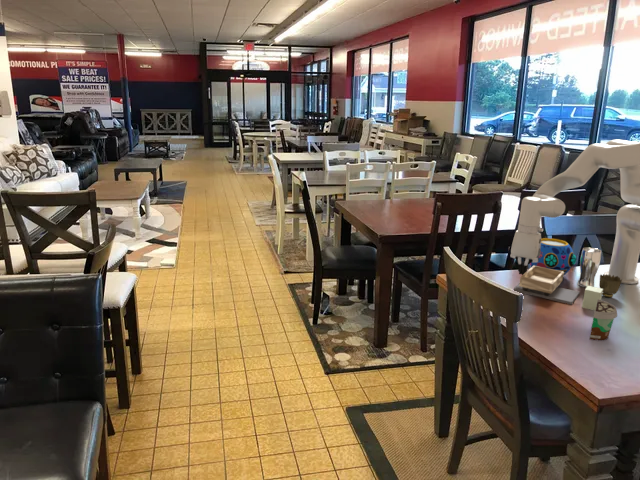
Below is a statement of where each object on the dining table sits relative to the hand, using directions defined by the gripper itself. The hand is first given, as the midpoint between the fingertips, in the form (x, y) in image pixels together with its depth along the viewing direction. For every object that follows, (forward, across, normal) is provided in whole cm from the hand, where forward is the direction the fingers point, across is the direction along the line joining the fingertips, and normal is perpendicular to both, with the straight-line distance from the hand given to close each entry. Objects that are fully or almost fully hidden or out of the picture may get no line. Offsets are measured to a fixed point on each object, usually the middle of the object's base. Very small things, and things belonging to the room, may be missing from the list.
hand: (522, 273), depth 201 cm
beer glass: (+6, -20, -19) cm, 28 cm away
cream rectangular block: (+6, -26, +4) cm, 27 cm away
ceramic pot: (+6, -5, -21) cm, 22 cm away
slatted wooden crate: (+4, -8, 0) cm, 9 cm away
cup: (+6, -29, -11) cm, 32 cm away
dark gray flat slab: (+5, -10, 0) cm, 11 cm away
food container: (+6, -34, +28) cm, 44 cm away
